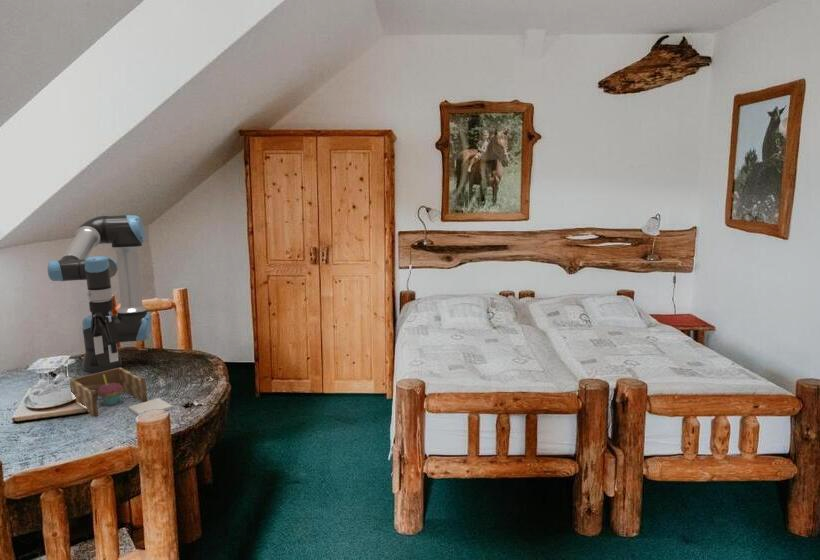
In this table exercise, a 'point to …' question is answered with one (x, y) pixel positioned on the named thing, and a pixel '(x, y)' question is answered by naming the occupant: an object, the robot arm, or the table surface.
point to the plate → (150, 406)
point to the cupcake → (110, 392)
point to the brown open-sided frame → (90, 384)
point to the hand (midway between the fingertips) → (106, 357)
